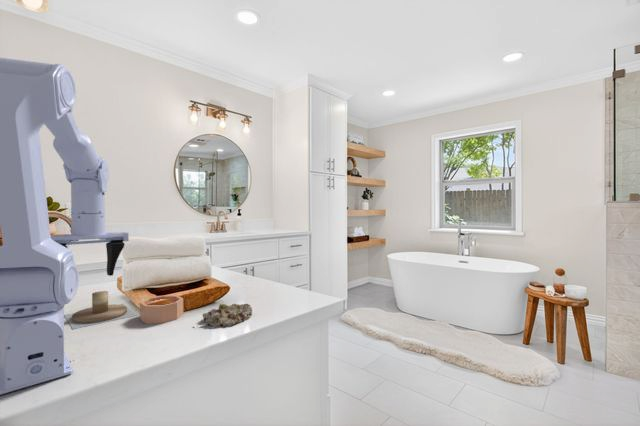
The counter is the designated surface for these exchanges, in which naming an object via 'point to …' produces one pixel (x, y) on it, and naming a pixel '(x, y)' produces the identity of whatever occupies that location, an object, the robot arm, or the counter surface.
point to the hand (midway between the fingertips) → (88, 277)
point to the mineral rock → (228, 315)
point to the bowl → (161, 310)
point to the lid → (99, 310)
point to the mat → (80, 325)
